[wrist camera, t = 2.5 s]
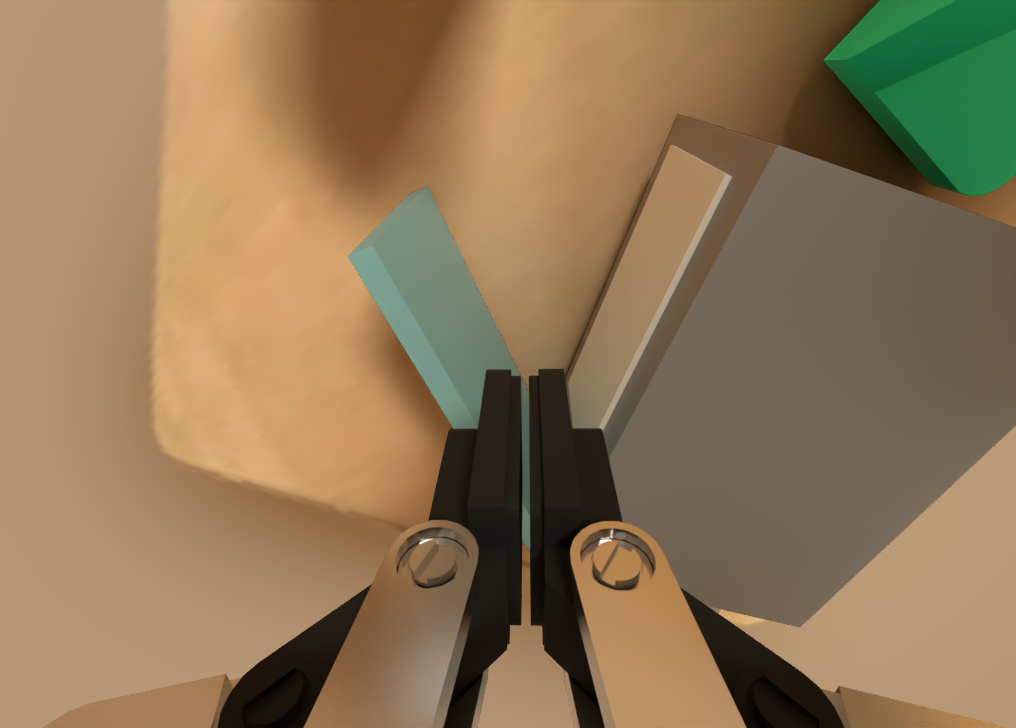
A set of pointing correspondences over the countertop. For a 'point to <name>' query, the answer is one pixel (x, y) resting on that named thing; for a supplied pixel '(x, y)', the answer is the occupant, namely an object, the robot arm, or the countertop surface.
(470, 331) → the side door
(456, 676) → the robot arm
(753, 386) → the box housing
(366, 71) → the countertop surface
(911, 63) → the camera mount
